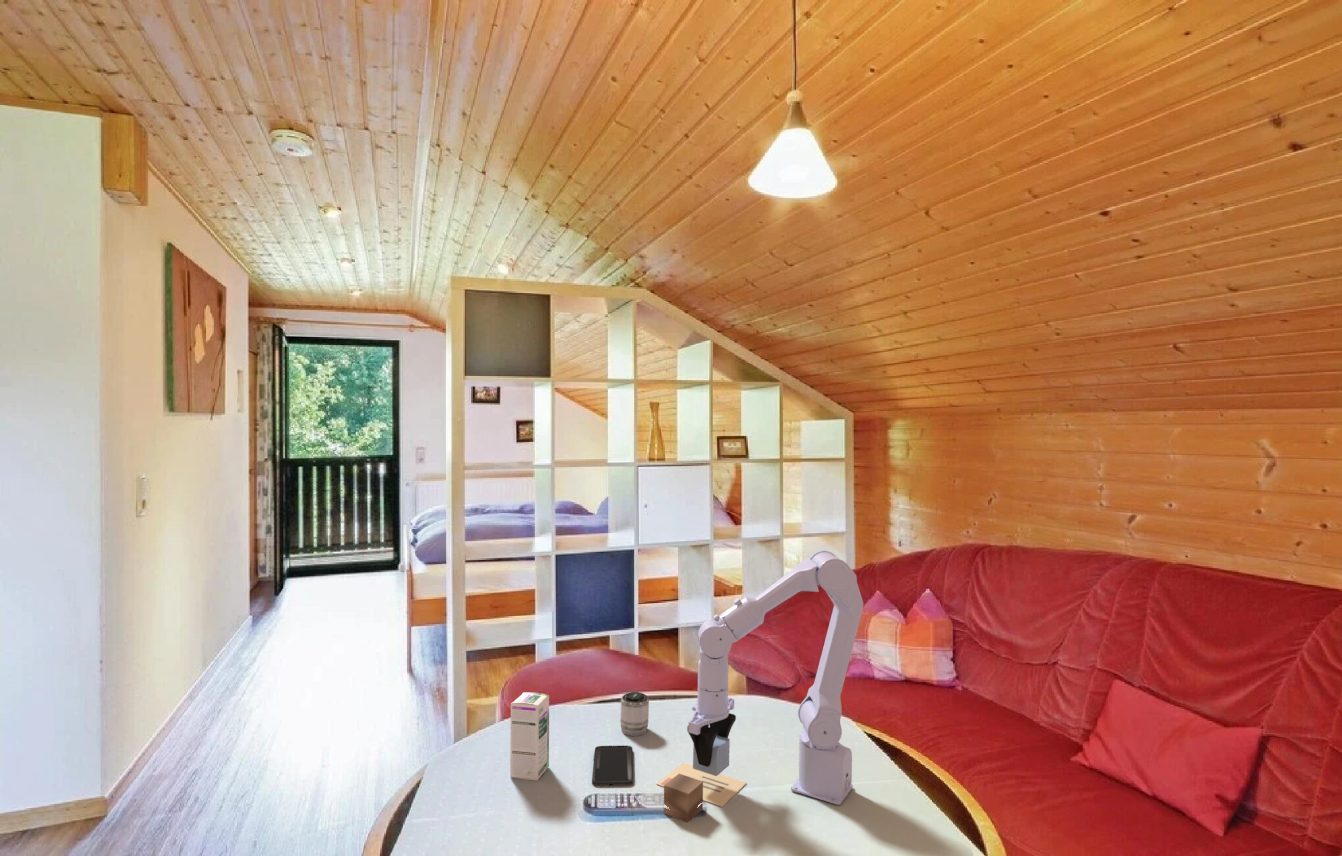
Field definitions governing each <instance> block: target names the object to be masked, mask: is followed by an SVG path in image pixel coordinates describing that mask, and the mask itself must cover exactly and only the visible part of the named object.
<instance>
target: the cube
mask: <svg viewBox="0 0 1342 856" xmlns="http://www.w3.org/2000/svg"><path fill="white" fill-rule="evenodd" d="M730 740H731V739H730V738H729V737H728V738H725V737H721V736H718V735H717V736H716V738H715V741H714V744H713V749H712V758H711V763H710V766H708V767H706V766H703V765H700V764H699V763H698V759H697V754H696V750H695V746H694V745H693V748H692V749H693V755H692V757H693V758H692V766H693V769H696V770H699V771H702V772H705V773H708V774H711V775H714V776H717V775H719V774H721V773H722V772H723V771H724V770H726V769H727V768H728V767H729V766H730V747H731V745H730Z"/></svg>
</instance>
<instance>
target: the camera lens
mask: <svg viewBox="0 0 1342 856" xmlns="http://www.w3.org/2000/svg"><path fill="white" fill-rule="evenodd" d="M649 705H650V699H649V697H648V696H647V695H646V694H645V693H642V692H639V691H630V692H627V693H626V694H623V695H622V697H621V698H620V720H619V721H620V722H619V723H620V729H621V733H622V734H625V735H627V736H632V737H638V736H642V735H644V734H646V733H647V731H648V727H649V708H650V706H649Z"/></svg>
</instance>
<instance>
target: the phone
mask: <svg viewBox="0 0 1342 856" xmlns="http://www.w3.org/2000/svg"><path fill="white" fill-rule="evenodd" d="M593 754H594V755H593V766H592V777H591V784H592V786H594V787H629V786H632V785H634V784H633V783H634V762H633V758H634V757H633V756H634V753H633V747H632V745H598V746H596V747H595V748H594V753H593Z"/></svg>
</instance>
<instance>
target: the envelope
mask: <svg viewBox="0 0 1342 856" xmlns="http://www.w3.org/2000/svg"><path fill="white" fill-rule="evenodd" d="M678 774H682V775H685V776H688V777H691V778H694V779H697V780H700V781H703V802H706V803H708V804H711V805H714V806H717V807H721V808H723V807H724V806H725V805H726V804H727V803H728V802H729V801H731V799H732V798H734V797H735V795H737V793H739V792H740V790H741V789H743V788H744V787H745V786H746V785H747V782H745V781H743V780H739V779H737V778H733V777H730V776H728V775H727V776H726V775H724V774H721V773H720V774H719V775H717V776H714V775H711V774H708V773H705V772H702V771H699V770H696V769H693V764H689V763H687V762H686V763H685V762H682V763H681V764H680V765H679V766H677V767H676V768H675V769H673V770H672V771H671V772H670V773H668V774H667V775H666V776H664V777H663V778H662V779H661V780H660V781H658V782H657V783H656V784H655V785H656V786H660V787H662V788H664V785H665V784H666V783H668V782H669V781H670V780H671V779H673V778H674V777H675V776H677V775H678Z"/></svg>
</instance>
